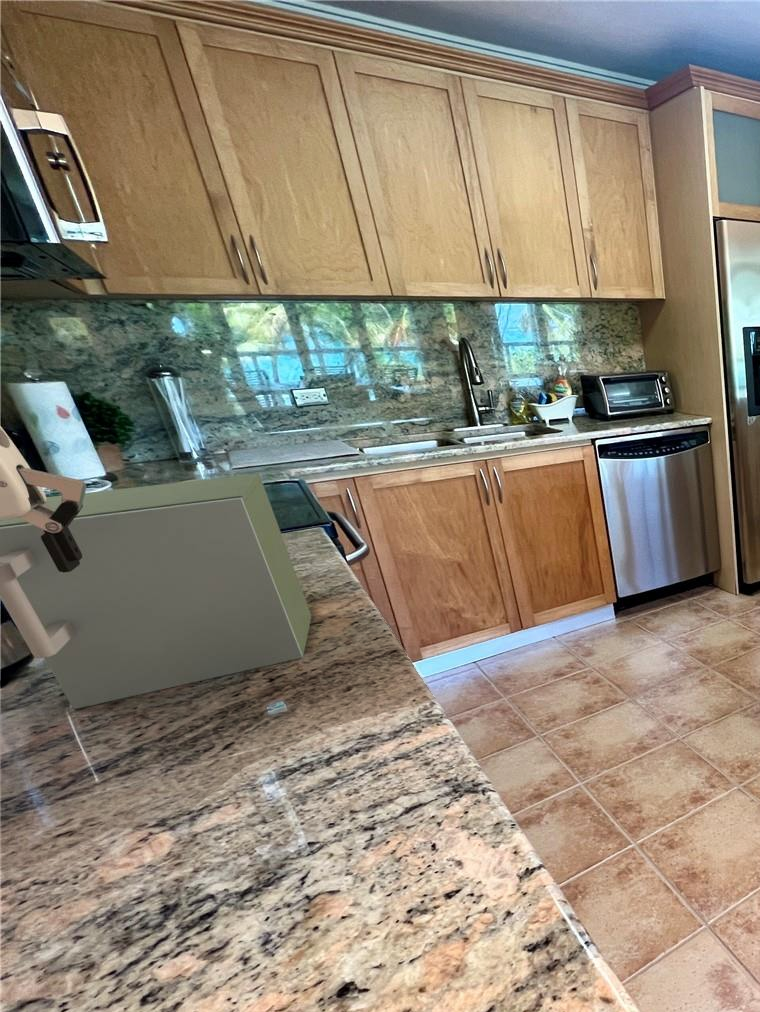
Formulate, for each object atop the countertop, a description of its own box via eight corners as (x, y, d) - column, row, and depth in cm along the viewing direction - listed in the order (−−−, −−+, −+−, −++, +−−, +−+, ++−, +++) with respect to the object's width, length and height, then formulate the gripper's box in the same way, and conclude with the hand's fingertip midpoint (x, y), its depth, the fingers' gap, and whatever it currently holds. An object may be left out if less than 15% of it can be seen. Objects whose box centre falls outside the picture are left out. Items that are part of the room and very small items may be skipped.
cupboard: (303, 655, 84) (241, 495, 76) (77, 706, 74) (-25, 528, 65) (311, 616, 96) (259, 473, 87) (117, 655, 86) (35, 498, 77)
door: (298, 678, 78) (231, 510, 70) (51, 737, 68) (-62, 548, 60) (303, 655, 84) (242, 497, 75) (75, 706, 74) (-25, 530, 65)
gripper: (52, 386, 63) (132, 551, 70) (-231, 404, 55) (-109, 588, 61) (18, 391, 57) (109, 571, 64) (-304, 412, 49) (-160, 615, 56)
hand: (2, 579), depth 63 cm, fingers open, 9 cm apart
